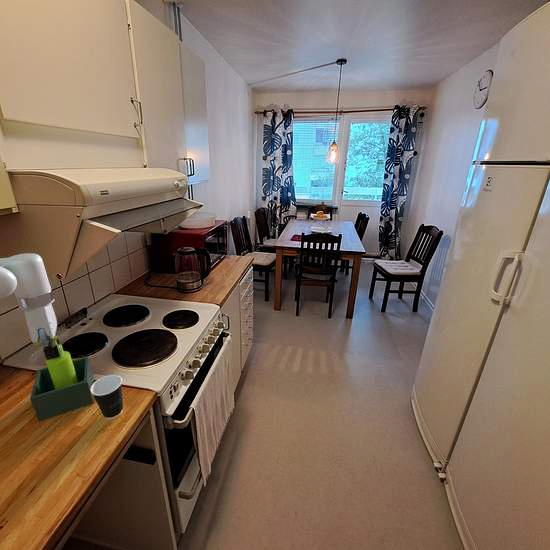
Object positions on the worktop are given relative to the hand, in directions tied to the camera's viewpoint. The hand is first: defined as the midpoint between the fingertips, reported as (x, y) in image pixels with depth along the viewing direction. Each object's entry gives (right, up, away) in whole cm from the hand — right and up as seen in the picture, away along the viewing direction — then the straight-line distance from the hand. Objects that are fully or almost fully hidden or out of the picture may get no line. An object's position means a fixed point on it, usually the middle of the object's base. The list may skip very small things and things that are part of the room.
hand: (54, 353), depth 84 cm
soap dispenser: (0, -14, +5) cm, 15 cm away
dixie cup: (+17, -18, +1) cm, 25 cm away
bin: (0, -16, +6) cm, 17 cm away
